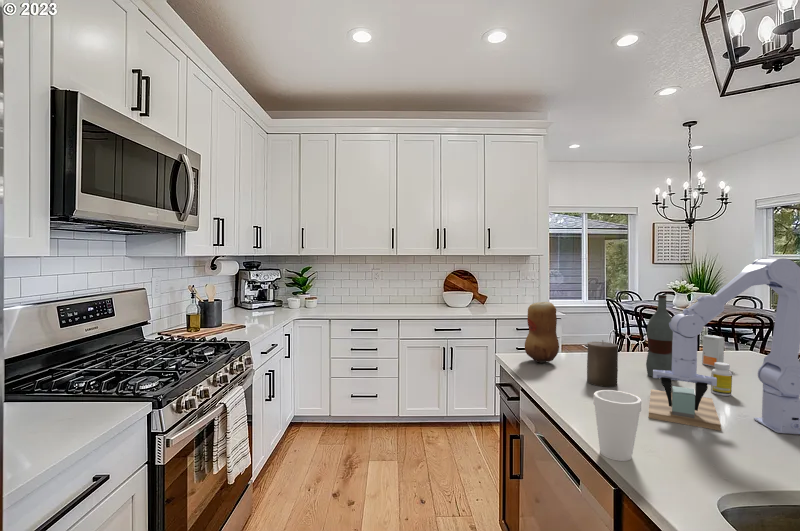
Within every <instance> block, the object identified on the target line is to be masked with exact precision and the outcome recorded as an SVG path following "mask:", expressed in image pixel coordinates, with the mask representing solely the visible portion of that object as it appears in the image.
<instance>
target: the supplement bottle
mask: <svg viewBox="0 0 800 531" xmlns="http://www.w3.org/2000/svg"><path fill="white" fill-rule="evenodd" d="M730 368H731V365H730V364H729V363H727V362H723V363H722V362H715V363H714V367H713V369H712V370H711V372H710V373H711V376H710V377H716V378H717V386H712V385H710V392H711V393H712V394H715V395H717V396H724V397H727V396H732V392H733V391H732V388H733V386H732V385H733V373H732V371H730Z"/></svg>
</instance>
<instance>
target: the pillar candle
mask: <svg viewBox="0 0 800 531" xmlns="http://www.w3.org/2000/svg"><path fill="white" fill-rule="evenodd" d="M586 354H587V359H586V362H587V363H586V382H587V383H588V384H591V385H593V386H597V387H603V388H604V387H605V388H609V387H610V388H611V387H612V388H613V387H617V386H618V368H619V366H618V364H619V363H618V362H619V360H618V358H619V357H618V356H619V345H618V344H617V343H613V342H607V341H604V340H603V339H602V340H601V341H589V342H587V353H586Z"/></svg>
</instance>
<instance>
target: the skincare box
mask: <svg viewBox="0 0 800 531" xmlns="http://www.w3.org/2000/svg"><path fill="white" fill-rule="evenodd" d="M724 357H725V337H723V336H718V335H712V334H705V335H703V336H702V358H701V359H702V360H701V361H702V362H701V364H702V365H705V366H709V367H712V368H715V367H714V363H715V362H722V363H725V362H724V359H725V358H724Z"/></svg>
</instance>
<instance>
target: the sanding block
mask: <svg viewBox="0 0 800 531" xmlns="http://www.w3.org/2000/svg"><path fill="white" fill-rule="evenodd" d="M671 392H672V415H677V416H683V417H689V418H694V419H695V388H689V387H682V386H674V385H672V388H671Z"/></svg>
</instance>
